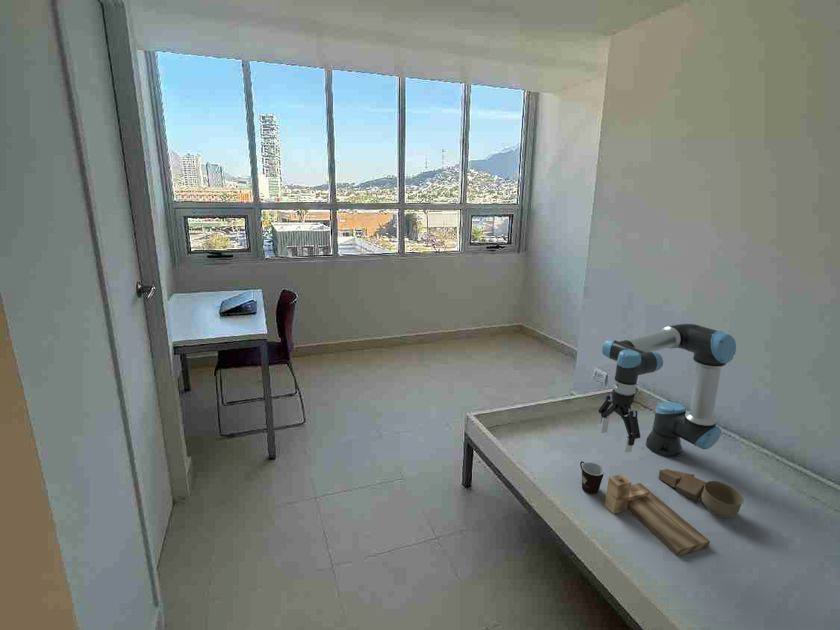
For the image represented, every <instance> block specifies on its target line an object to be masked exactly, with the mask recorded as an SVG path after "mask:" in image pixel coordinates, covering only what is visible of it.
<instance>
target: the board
mask: <svg viewBox="0 0 840 630" xmlns="http://www.w3.org/2000/svg"><path fill="white" fill-rule="evenodd" d="M644 489H646V490H647V491H648V492H649V496H645V497H641V498H637V499H633V500H629V501H628V505H627V510H626V511H628V512H629V513H631V514H632V515H633V516H634V517H635V518H636V519H637V520H638V521H639V522H640V523H641V524H642V525H643V526H644V527H645V528H647V530H649V531H650V532H651V534H653V535H654V536H655V537H656V538H657V539H658V540H659V541H660V542H661V543H662V544H664V546H665V547H667V548H668V549H669V551H671V552H672V553H673V554H674V555H675V556H676V557H679V556H683V555H686V554H689V553H693V552H696V551H699V550H700V551H701V550H703V549H706V548H709V546H710V543H711V540H709V538H707V537H706V536H705V535H703V534H702V533H701V532H700V531H699V530H697V529H696V528H695V527H694V526H693V525H691V524H690V523H689V522H688V521H687V520H685V519H684V518H682V517H683V516H682V517H681V516H680V515H679V514H678V513H677V512H676V511H675V510H673V508H671V507H670V506H669V505H667V504H666V502H664V501H662V499H661V498H659V497H658V496H656V495H655V494H654V493H653V492H652V491H651V490H649V489H648V488H647V487H646V486H645V485H644V484H642V483H641V482H638V483H633V484H631V488H630V493H632V492H636V491H640V490H644Z"/></svg>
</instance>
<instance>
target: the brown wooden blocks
mask: <svg viewBox="0 0 840 630" xmlns="http://www.w3.org/2000/svg"><path fill="white" fill-rule="evenodd" d="M658 480H660V481H662V482H664V483H666V484H668V485H670V486H671V487H673V488H675V489H676V492H677V493H678V494H680V495H682V496H684V497H686V498H688V499H690V500H693V501H695V502H699V501H700V499H702V497H701V496H702V492H703V490H704V484H705V483H706V482H707V481H705V480H702V479H700V478H698V477H695V474H692V473H689V472H688V473H687V472H683V471H677V470H674V469H669V468H668V469H667V468H665V469H659V473H658Z"/></svg>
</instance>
